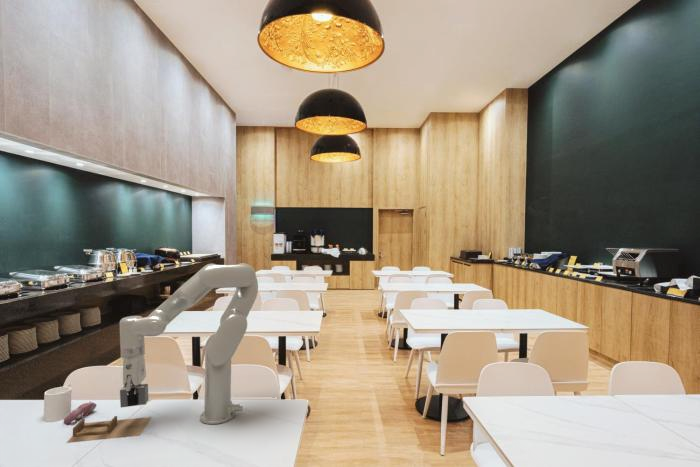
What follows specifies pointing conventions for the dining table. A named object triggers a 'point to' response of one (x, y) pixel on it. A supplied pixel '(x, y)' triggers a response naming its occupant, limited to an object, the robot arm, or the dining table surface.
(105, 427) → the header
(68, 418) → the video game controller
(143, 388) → the dark grey box
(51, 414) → the cup
